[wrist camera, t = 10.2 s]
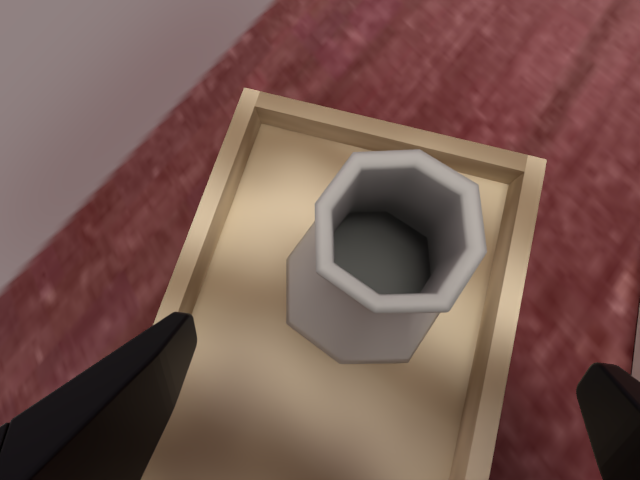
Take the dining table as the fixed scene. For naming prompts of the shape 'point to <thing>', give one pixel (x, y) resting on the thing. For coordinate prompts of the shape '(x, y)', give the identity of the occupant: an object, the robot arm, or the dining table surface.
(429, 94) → the dining table surface
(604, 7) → the dining table surface
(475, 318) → the serving tray
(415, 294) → the flask
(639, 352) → the white square frame
